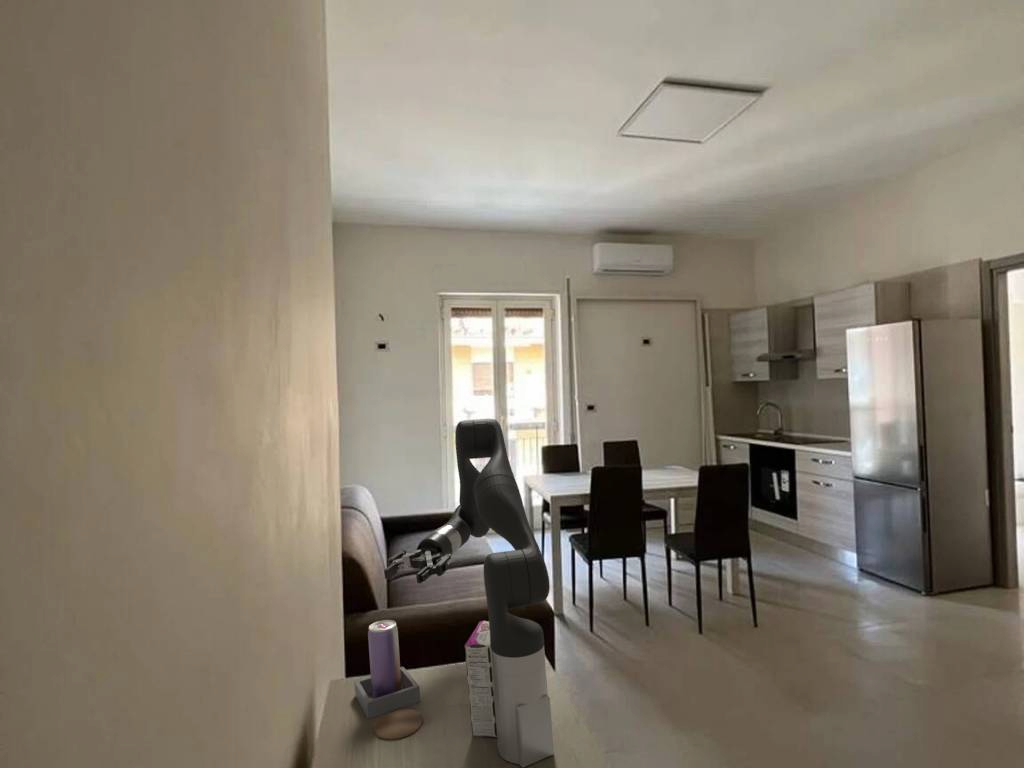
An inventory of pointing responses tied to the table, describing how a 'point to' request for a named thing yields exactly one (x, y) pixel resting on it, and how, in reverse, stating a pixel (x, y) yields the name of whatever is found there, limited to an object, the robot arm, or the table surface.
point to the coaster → (398, 724)
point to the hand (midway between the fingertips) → (401, 577)
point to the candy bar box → (481, 682)
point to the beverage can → (384, 658)
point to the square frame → (387, 696)
